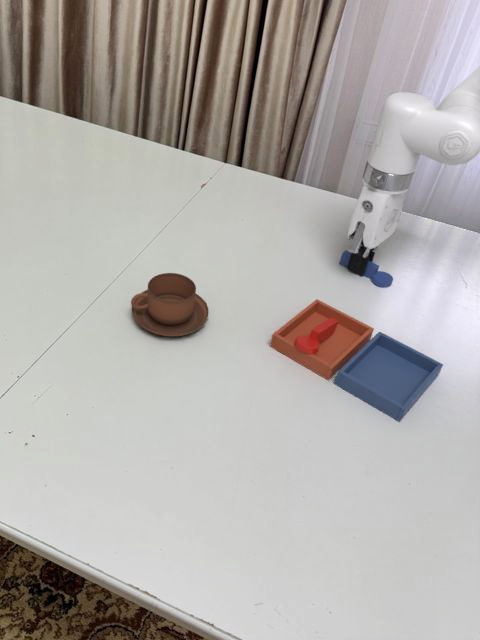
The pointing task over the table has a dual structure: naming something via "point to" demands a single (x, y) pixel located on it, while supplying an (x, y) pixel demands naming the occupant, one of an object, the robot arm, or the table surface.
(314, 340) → the red spoon
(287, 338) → the terracotta tray
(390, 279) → the blue spoon
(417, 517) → the table surface
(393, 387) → the slate tray
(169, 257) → the table surface
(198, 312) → the cup and saucer
